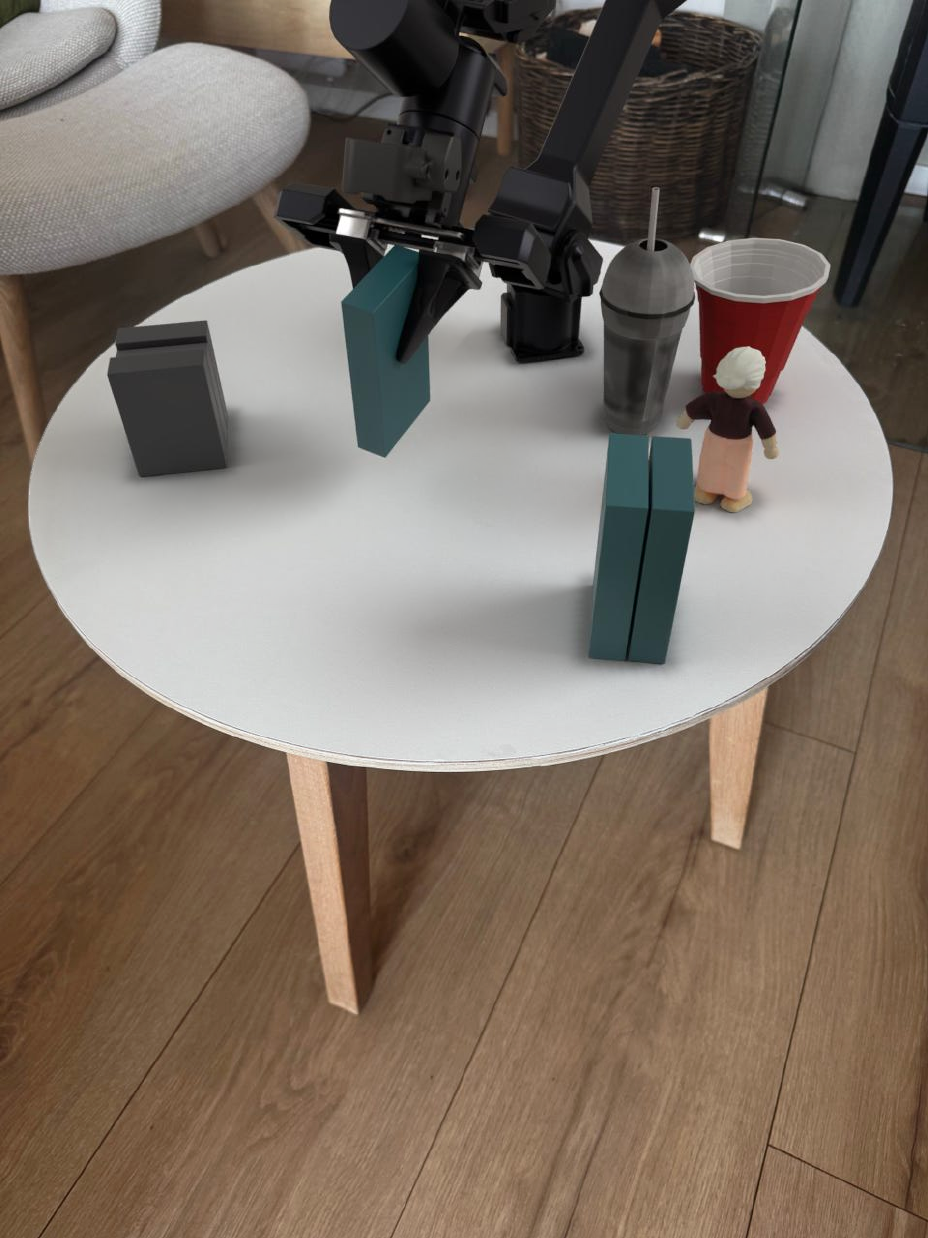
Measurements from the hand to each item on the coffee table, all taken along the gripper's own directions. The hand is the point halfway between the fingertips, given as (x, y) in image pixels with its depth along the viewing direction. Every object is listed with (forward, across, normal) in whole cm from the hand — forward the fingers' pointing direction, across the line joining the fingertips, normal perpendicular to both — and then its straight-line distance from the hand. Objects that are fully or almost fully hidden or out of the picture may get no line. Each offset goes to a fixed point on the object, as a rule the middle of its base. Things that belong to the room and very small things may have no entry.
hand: (381, 358), depth 69 cm
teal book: (+4, 0, +6) cm, 7 cm away
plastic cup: (-7, +22, +26) cm, 34 cm away
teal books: (+13, +21, +3) cm, 25 cm away
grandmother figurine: (+3, +23, +15) cm, 28 cm away
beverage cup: (-2, +15, +20) cm, 25 cm away
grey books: (+9, -19, +8) cm, 22 cm away
